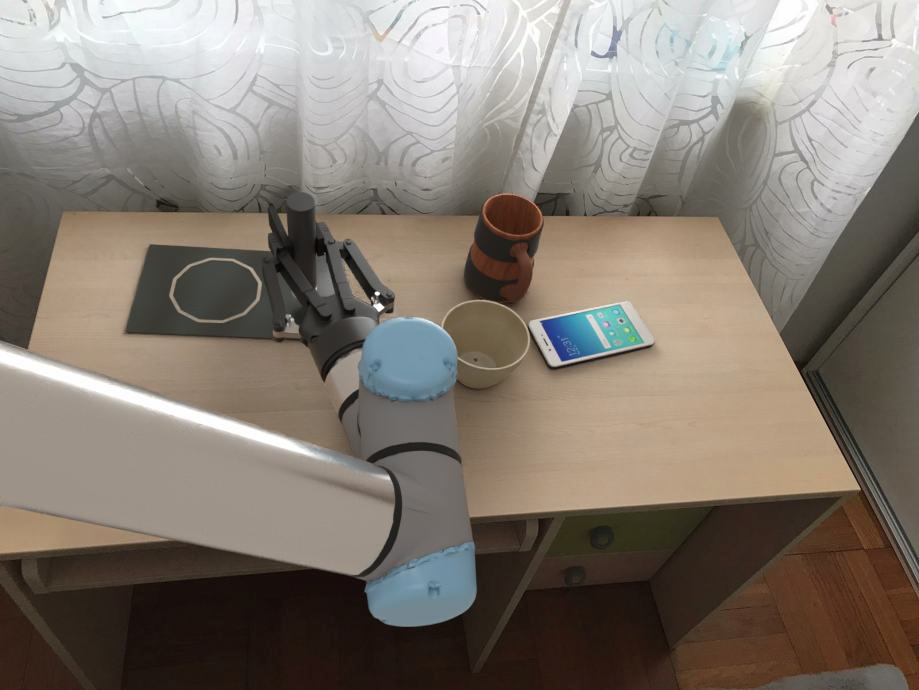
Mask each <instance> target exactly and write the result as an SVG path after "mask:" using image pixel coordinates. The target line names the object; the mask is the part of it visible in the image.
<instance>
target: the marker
mask: <svg viewBox="0 0 919 690" xmlns="http://www.w3.org/2000/svg"><path fill="white" fill-rule="evenodd" d="M285 207H286V208H285V210H286V226H287V227H286V228H287V235H288V238H289V240H290V242H291V244H292V256H293V260H294V262H295V263H296V265H297V266H298V268H299V269H300V270H301V272H302V273H303V275H304V276H305V278H306V279H307V281H308V282H309V283H310V285H311V286H312V288H313V289H314V288H315V289H316V290H317V263H316V254H317V253H316V222H317V218H316V217H317V216H316V212H317V211H316V199H315V198H314V196H312V195H311V194H310V193H308V192H304V191H297V192H293V193H291V194H290V195H288V196H287V198H286V199H285ZM291 293H292V295H293V296H294V297H295V298H296V296H295V295H294V293H293V292H292V290H291ZM296 299H297V298H296Z"/></svg>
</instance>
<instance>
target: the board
mask: <svg viewBox="0 0 919 690" xmlns="http://www.w3.org/2000/svg"><path fill="white" fill-rule="evenodd" d="M272 256H273V255H272V253H271V250H259V249H258V250H255V249H239V248H223V247H208V246H207V247H205V246H189V245H172V244H153V243H149V245H148V249H147V252H146V256H145V259H144V262H143V267H142V270H141V273H140V277H139V279H138V280H139V281H138V284H137V287H136V291H135V293H134V294H135V295H134V299H133V301H132V305H131V308H130V309H131V310H130V312H129V316H128V320H127V322H126V326H125V330H124V333H125V334H139V335H141V334H142V335H162V336H163V335H164V336H186V337H187V336H188V337H207V338H208V337H210V338H234V339H235V338H236V339H257V340H258V339H260V340H274V339H273V329H272V320H273V312H272V309H271V305H270V301H269V298H268V294H267V290H266V286H265V283H264V279H263V272H262V263H261V260H262V258H264V257H272ZM341 259H342V263H343V266H344V267H345V261H344V259H343V258H341ZM316 263H317V292H318V293H319V295H320V296H321V297H322V296H330V295H332V294H335V292H334V288H333V284H332V280H331V276H330V272H329V268H328V264H327V263H326V254H325V255H324V256H319V257H318V256H317V253H316ZM277 276H278V280H279V283H280V287H281V290H282V294H283V297H284V301H285V304H286V311H287V314H290V315H291V317H292V318H293V319H294V322H295V324H297V325H300V324H301V321H302V319H303V317H304V314H305V312H304V309H303V307H302V305H301V304H300V302H299V301H298V299H296V298H295V297H294V296H293V295H292V293H291V289H290V287H289V286H288V284H287V283H286V281H285V280H284V278H283V277H282V275H281V274H280V272H279V273H277ZM284 341H300V339H298V338H285V340H284Z"/></svg>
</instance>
